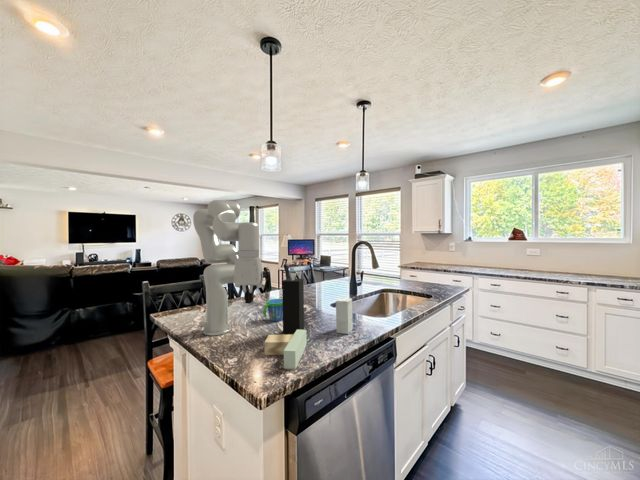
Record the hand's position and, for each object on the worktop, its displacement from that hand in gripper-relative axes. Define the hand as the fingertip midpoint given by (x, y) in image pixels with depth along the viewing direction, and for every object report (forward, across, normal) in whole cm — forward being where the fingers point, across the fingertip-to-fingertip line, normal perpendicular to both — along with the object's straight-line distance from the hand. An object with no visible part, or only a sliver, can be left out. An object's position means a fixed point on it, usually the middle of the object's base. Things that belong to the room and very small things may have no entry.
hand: (249, 302), depth 102 cm
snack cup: (+20, -2, +41) cm, 46 cm away
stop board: (+19, +19, -1) cm, 27 cm away
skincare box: (+19, +36, +27) cm, 49 cm away
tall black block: (+20, +12, +21) cm, 32 cm away
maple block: (+20, +11, +3) cm, 23 cm away
